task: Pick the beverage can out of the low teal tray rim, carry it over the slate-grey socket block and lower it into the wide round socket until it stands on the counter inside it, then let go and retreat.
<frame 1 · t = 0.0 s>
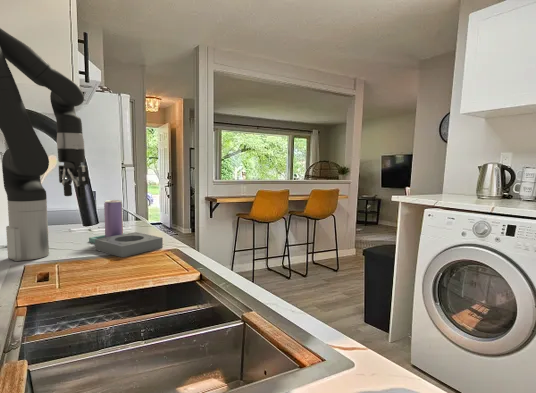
hand: (74, 196, 104), 17 cm above the worktop, tool pointing down, fingers open, 8 cm apart
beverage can: (114, 241, 116), resting in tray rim
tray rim: (114, 241, 116), on the worktop
socket block: (129, 248, 106), on the worktop
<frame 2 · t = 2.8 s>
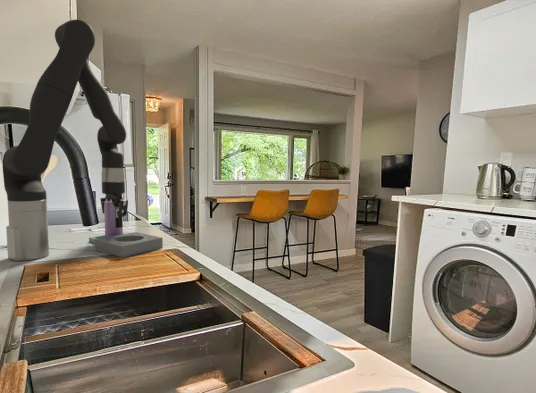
hand: (114, 226, 115), 5 cm above the worktop, tool pointing down, fingers open, 5 cm apart
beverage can: (114, 241, 116), resting in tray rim, touching gripper
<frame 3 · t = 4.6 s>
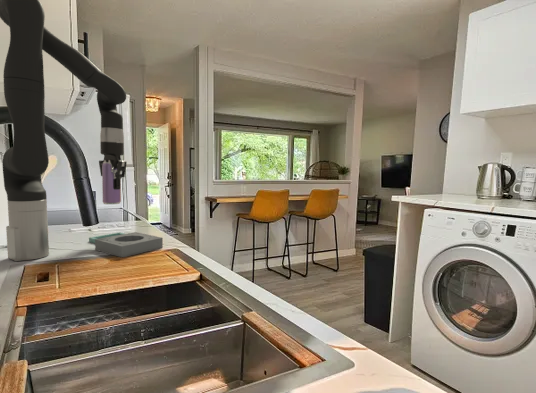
hand: (112, 188, 114), 19 cm above the worktop, tool pointing down, fingers closed on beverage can, 4 cm apart
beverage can: (111, 204, 115), point 14 cm above the worktop, touching gripper
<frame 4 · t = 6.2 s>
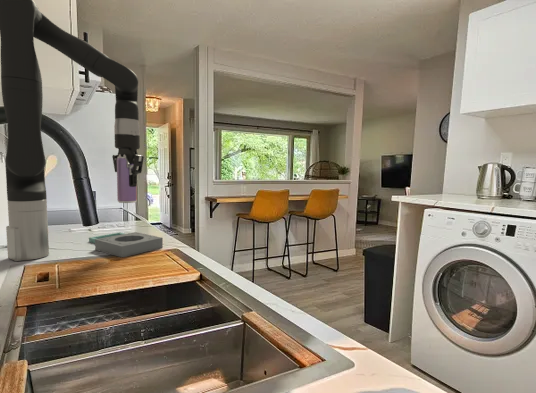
hand: (128, 185, 104), 21 cm above the worktop, tool pointing down, fingers closed on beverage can, 4 cm apart
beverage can: (127, 202, 105), point 16 cm above the worktop, touching gripper
when the fingers open (6 cm above the worktop, at t = 9.5 s): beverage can stays where it is, resting in socket block.
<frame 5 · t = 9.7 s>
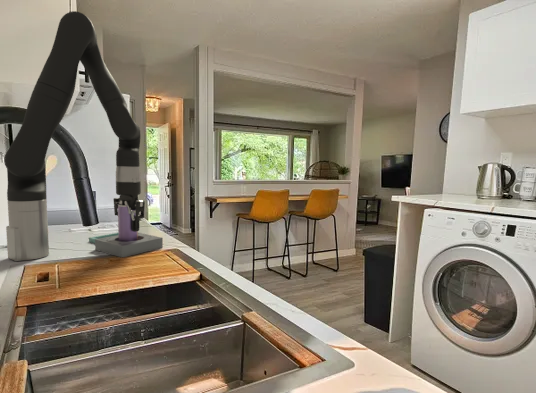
hand: (129, 229, 105), 6 cm above the worktop, tool pointing down, fingers open, 6 cm apart
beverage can: (128, 248, 106), resting in socket block
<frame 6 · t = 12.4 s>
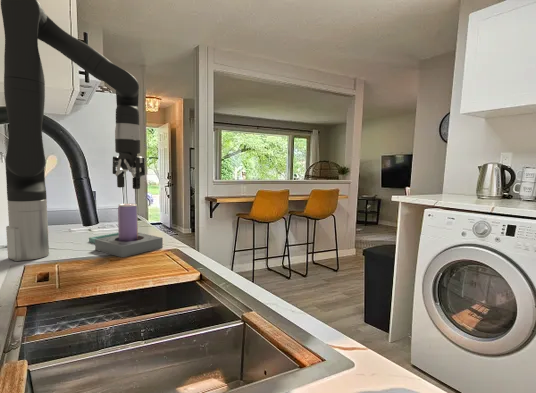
hand: (128, 188, 104), 21 cm above the worktop, tool pointing down, fingers open, 8 cm apart
nothing on the worktop moved.
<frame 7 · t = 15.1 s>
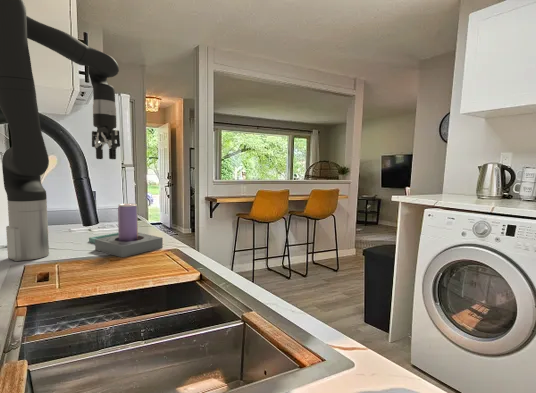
hand: (106, 159, 115), 30 cm above the worktop, tool pointing down, fingers open, 8 cm apart
nothing on the worktop moved.
at the end: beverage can 0.7 cm from the socket block (horizontally); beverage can tilted 0°; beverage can touching worktop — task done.
